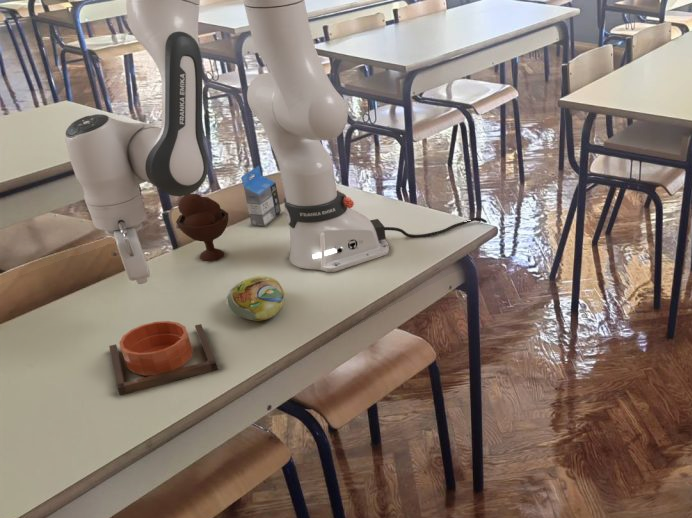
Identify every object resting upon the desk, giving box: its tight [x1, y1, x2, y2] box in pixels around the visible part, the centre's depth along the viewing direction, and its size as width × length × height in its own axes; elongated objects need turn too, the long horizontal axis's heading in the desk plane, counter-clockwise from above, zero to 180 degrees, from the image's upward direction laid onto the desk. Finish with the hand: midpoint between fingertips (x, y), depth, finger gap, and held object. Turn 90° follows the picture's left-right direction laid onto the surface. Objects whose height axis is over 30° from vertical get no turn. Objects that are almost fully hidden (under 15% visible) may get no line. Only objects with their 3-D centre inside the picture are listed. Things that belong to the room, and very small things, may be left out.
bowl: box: [119, 320, 194, 377], centre depth 137 cm, size 11×11×5 cm
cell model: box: [227, 275, 285, 322], centre depth 152 cm, size 11×8×15 cm
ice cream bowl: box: [175, 193, 230, 263], centre depth 169 cm, size 11×11×15 cm
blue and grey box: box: [240, 165, 282, 227], centre depth 187 cm, size 9×4×12 cm, turn 167°
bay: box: [108, 323, 219, 396], centre depth 138 cm, size 16×15×2 cm
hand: (142, 280), depth 143 cm, fingers closed
